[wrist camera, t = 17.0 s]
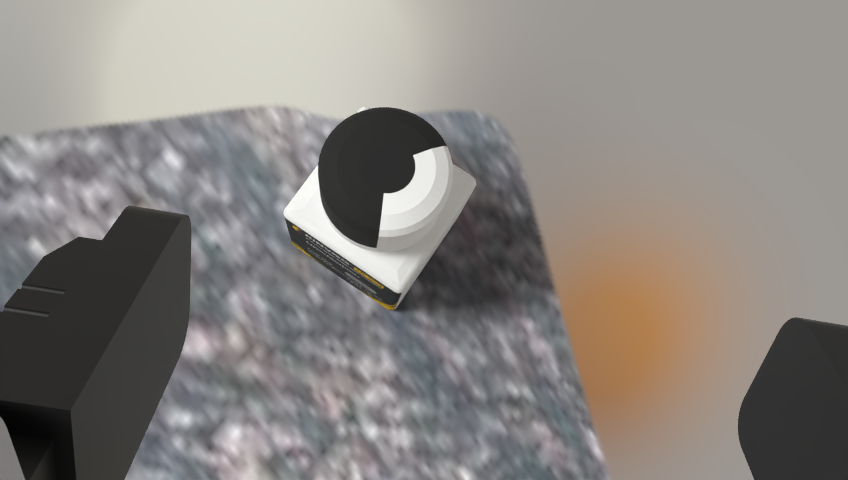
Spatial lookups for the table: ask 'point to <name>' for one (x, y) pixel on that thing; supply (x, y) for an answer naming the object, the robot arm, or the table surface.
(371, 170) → the medicine bottle
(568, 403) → the table surface
